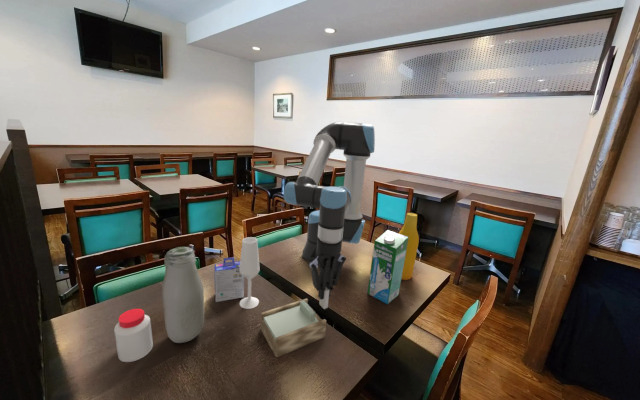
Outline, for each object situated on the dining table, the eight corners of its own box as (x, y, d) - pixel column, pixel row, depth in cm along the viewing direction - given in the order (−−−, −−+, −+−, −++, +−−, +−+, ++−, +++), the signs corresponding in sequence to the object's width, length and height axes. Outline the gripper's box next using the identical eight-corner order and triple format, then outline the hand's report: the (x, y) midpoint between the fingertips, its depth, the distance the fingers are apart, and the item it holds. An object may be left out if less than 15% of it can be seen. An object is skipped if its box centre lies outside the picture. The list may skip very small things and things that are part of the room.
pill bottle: (114, 365, 66) (108, 329, 64) (122, 343, 73) (117, 309, 70) (150, 357, 70) (146, 322, 67) (154, 336, 76) (151, 303, 74)
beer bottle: (403, 268, 127) (414, 210, 119) (416, 279, 118) (428, 217, 111) (387, 270, 124) (396, 211, 116) (398, 281, 115) (409, 218, 108)
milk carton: (367, 293, 105) (375, 234, 98) (378, 284, 111) (387, 229, 105) (387, 304, 99) (397, 242, 92) (398, 294, 105) (409, 236, 99)
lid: (304, 307, 88) (304, 297, 87) (319, 325, 80) (320, 314, 79) (263, 320, 80) (263, 310, 79) (276, 341, 73) (276, 330, 72)
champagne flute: (251, 311, 90) (252, 246, 84) (235, 305, 92) (234, 241, 86) (262, 299, 96) (264, 238, 90) (246, 294, 98) (247, 234, 92)
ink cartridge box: (242, 289, 101) (242, 254, 97) (244, 297, 96) (244, 261, 93) (214, 293, 97) (213, 257, 94) (215, 302, 92) (214, 265, 89)
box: (305, 313, 91) (306, 298, 89) (324, 337, 81) (326, 320, 79) (260, 329, 82) (260, 312, 81) (276, 357, 72) (276, 339, 71)
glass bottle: (192, 319, 84) (187, 237, 77) (211, 335, 78) (208, 248, 71) (159, 338, 76) (150, 248, 69) (178, 357, 70) (170, 261, 63)
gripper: (339, 231, 86) (333, 294, 92) (304, 237, 79) (300, 305, 85) (354, 239, 80) (346, 306, 86) (318, 247, 73) (312, 319, 79)
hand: (323, 305), depth 86 cm, fingers closed
